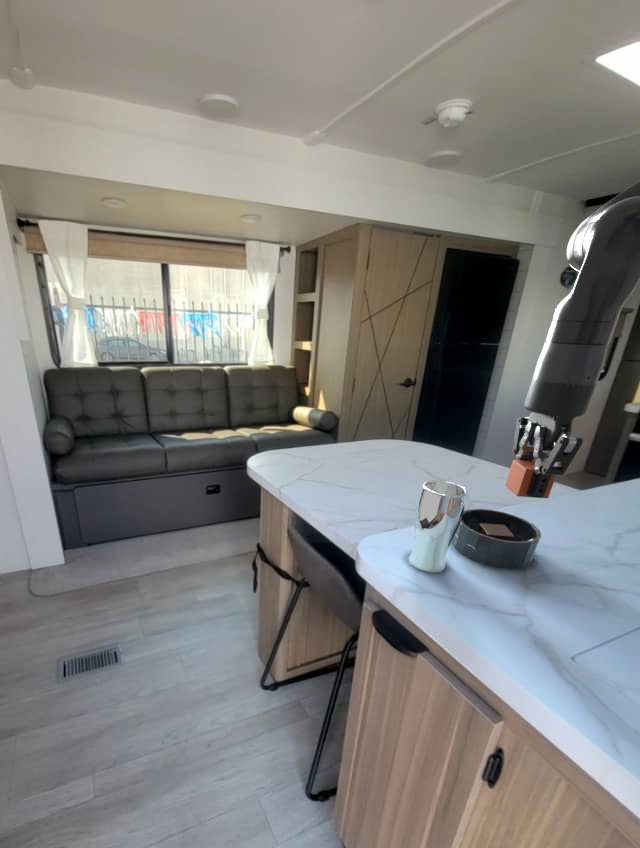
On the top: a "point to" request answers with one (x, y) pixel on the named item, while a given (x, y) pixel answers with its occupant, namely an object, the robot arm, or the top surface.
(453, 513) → the beer glass
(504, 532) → the walnut block
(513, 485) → the terracotta block
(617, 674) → the top surface
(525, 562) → the shallow dark bowl
